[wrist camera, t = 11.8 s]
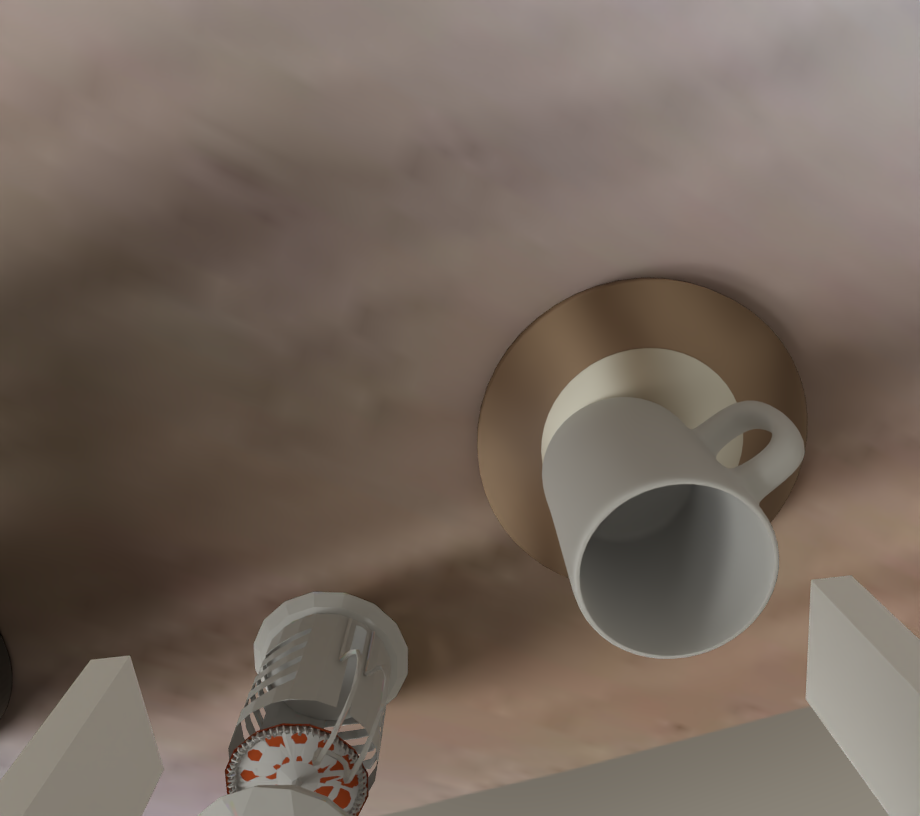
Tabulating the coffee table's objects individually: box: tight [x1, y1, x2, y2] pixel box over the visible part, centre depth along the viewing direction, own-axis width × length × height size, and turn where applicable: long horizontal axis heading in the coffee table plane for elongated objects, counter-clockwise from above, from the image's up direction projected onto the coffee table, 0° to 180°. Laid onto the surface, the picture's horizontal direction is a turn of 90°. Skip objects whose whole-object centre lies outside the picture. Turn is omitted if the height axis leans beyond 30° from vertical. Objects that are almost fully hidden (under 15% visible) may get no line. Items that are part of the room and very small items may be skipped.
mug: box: [542, 397, 805, 659], centre depth 33 cm, size 12×8×11 cm
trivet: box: [477, 278, 807, 578], centre depth 38 cm, size 18×18×3 cm
